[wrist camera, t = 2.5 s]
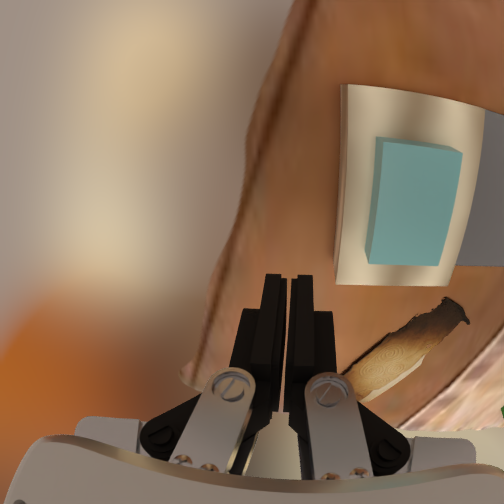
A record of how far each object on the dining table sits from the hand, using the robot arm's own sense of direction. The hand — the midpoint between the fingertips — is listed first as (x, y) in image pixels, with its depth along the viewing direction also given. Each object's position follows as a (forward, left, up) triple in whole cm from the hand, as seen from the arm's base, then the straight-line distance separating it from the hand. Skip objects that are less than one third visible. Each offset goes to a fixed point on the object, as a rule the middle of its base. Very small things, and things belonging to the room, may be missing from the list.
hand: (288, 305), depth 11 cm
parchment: (-13, +25, -17) cm, 33 cm away
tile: (-8, 0, -12) cm, 15 cm away
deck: (-9, 0, -16) cm, 18 cm away
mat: (-21, 0, -16) cm, 26 cm away
